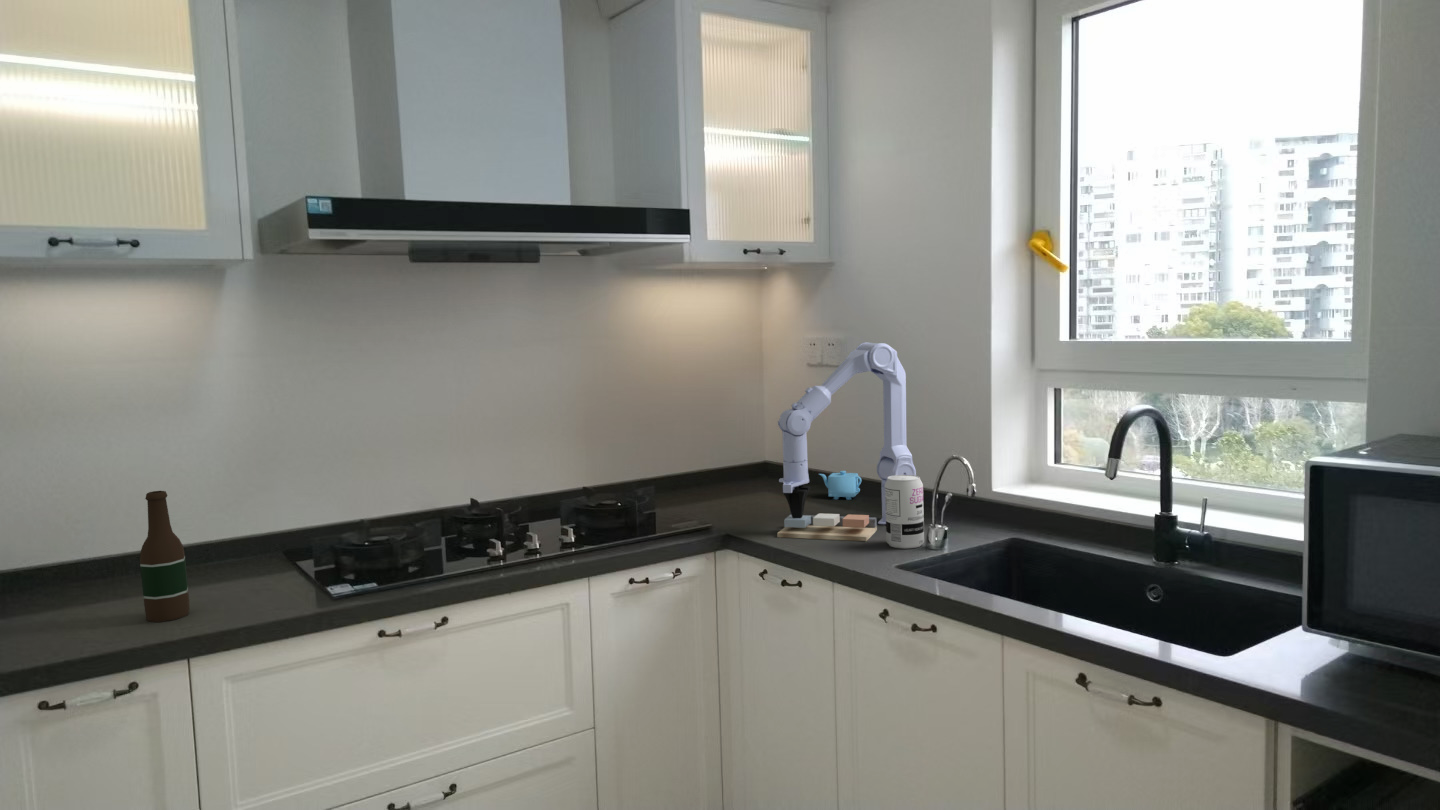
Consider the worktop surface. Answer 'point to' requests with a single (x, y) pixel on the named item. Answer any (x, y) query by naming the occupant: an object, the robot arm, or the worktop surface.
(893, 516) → the supplement can
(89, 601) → the worktop surface
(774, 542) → the worktop surface
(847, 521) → the key terracotta
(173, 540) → the beer bottle
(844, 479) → the teapot
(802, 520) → the key slate
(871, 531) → the keypad base
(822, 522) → the key middle
